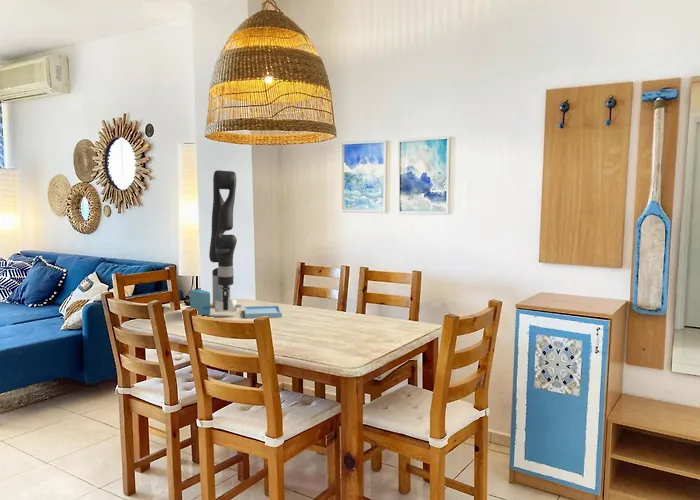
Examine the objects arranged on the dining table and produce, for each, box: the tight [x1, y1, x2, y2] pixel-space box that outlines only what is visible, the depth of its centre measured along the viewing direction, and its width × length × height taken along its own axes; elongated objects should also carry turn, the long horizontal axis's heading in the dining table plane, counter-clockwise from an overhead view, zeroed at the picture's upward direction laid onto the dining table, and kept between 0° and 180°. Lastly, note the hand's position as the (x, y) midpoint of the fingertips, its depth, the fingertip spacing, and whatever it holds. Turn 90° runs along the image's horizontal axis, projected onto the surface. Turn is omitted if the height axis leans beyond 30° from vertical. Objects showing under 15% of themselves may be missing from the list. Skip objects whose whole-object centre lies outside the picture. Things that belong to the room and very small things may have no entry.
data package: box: [189, 288, 211, 317], centre depth 273 cm, size 12×4×12 cm, turn 45°
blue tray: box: [243, 305, 283, 319], centre depth 277 cm, size 18×18×2 cm
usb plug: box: [214, 299, 242, 313], centre depth 269 cm, size 13×4×5 cm, turn 101°
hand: (225, 308), depth 269 cm, fingers closed on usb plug, 4 cm apart
